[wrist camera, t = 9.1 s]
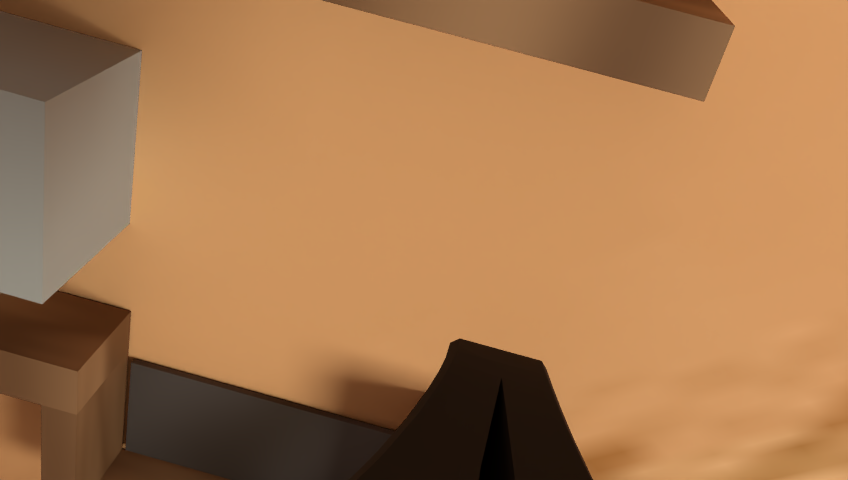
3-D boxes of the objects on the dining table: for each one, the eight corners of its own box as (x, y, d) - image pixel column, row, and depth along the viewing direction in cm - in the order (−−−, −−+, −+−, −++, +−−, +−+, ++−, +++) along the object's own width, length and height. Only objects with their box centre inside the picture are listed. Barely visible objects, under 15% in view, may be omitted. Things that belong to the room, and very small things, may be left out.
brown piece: (712, -15, 18) (747, 19, 14) (484, 573, 27) (475, 674, 23) (-43, -213, 18) (-171, -222, 15) (-15, 433, 27) (-91, 513, 24)
